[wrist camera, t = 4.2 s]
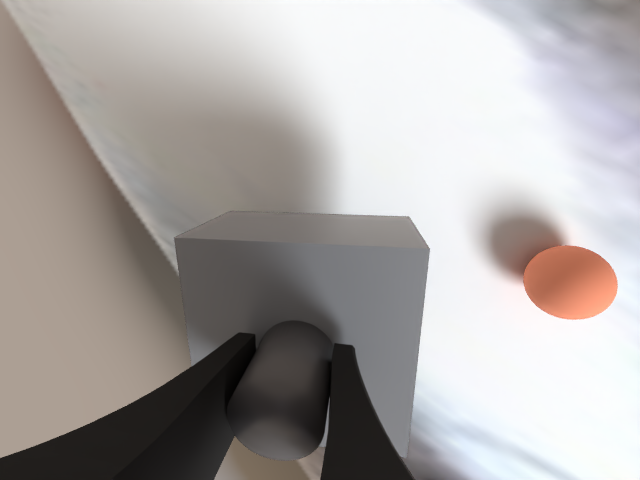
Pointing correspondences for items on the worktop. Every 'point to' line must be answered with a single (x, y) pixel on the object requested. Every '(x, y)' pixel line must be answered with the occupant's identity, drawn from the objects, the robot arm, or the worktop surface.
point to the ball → (570, 282)
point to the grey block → (307, 317)
